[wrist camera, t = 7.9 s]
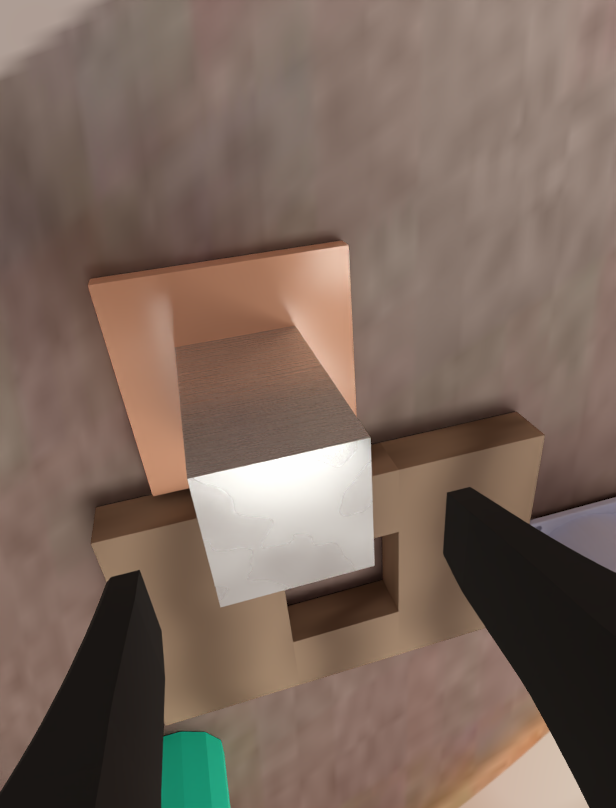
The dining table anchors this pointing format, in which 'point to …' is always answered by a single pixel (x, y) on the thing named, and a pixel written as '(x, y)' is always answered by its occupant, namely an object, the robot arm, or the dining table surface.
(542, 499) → the dining table surface
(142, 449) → the terracotta tile
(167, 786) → the candle
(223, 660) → the wooden board with hole
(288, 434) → the steel plug
